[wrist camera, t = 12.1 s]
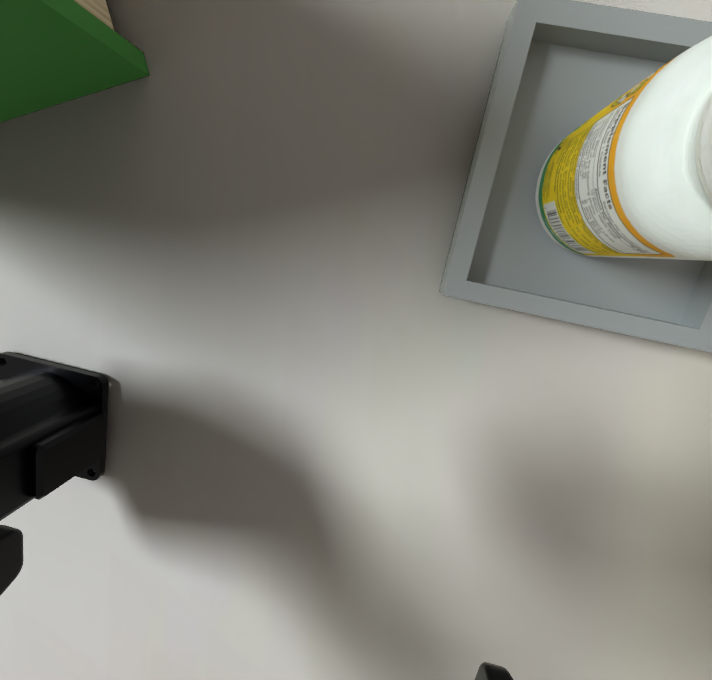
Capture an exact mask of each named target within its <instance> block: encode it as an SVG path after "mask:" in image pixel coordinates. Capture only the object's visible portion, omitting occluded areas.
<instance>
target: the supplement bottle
mask: <svg viewBox="0 0 712 680" xmlns="http://www.w3.org/2000/svg"><path fill="white" fill-rule="evenodd" d="M535 201H536V209H537V213H538V217H539V219H540V222H541V224H542V226H543V228H544V230H545V231H546V233H547V234H548V235H549V236H550V238H551V239H552V240H553V241H554V242H556V243H557V244H558V245H559V246H561V247H562V248H564V249H566V250H568V251H570V252H573V253H575V254H578V255H583V256H589V257H614V258H652V259H677V260H704V261H712V36H710V37H709V38H707V39H705V40H703V41H701V42H700V43H698V44H696V45H694V46H692V47H691V48H689V49H688V50H686V51H685V52H683V53H681V54H680V55H678V56H677V57H675V58H674V59H672V60H671V61H670V62H668V63H667V64H665V65H664V66H662V67H661V68H660V69H658V70H656V71H655V72H654V73H653V74H651V75H650V76H648V77H647V78H646V79H644V80H643V81H642V82H640V83H639V84H638V85H636V86H635V87H633V88H632V89H631V90H629V91H628V92H626V93H625V94H623V95H622V96H621V97H619V98H618V99H616V100H615V101H614V102H612V103H611V104H609V105H608V106H607V107H605V108H604V109H602V110H601V111H600V112H598V113H597V114H596V115H594V116H593V117H591V118H590V119H588V120H587V121H586V122H584V123H583V124H582V125H580V126H579V127H577V128H576V129H575V130H574V131H573V132H571V133H570V134H569V135H567V136H566V137H565V138H564V139H563V140H561V141H560V142H559V143H558V144H557V145H556V147H555V148H554V149H553V150H552V151H551V153H550V154H549V155H548V157H547V159H546V160H545V162H544V164H543V166H542V168H541V171H540V174H539V177H538V181H537V186H536V194H535Z"/></svg>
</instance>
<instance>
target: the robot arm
mask: <svg viewBox="0 0 712 680" xmlns="http://www.w3.org/2000/svg"><path fill="white" fill-rule="evenodd" d="M96 382H97V383H98V385H99V386H97V384H96ZM107 403H108V381H107V379H106V378H105V377H104V376H103V375H101V374H98V373H94V372H89V371H85V370H81V369H77V368H73V367H69V366H65V365H61V364H57V363H53V362H49V361H45V360H41V359H37V358H32V357H28V356H24V355H20V354H16V353H12V352H3V353H0V521H1V520H2V519H4V518H5V517H7V516H8V515H10V514H11V513H13V512H14V511H16V510H17V509H19V508H20V507H22V506H23V505H25V504H26V503H28V502H29V501H31V500H32V499H34V498H35V499H41V498H43V497H45V496H46V495H48V494H49V493H50V492H52V491H53V490H55V489H56V488H58V487H59V486H61V485H62V484H64V483H65V482H67V481H68V480H70V479H71V478H72V477H74V476H77V477H81V478H84V479H88V480H97V479H98V478H100V477H101V476H102V475H103V474H104V471H105V451H106V428H107ZM93 470H94V471H95V472H94V471H93ZM22 565H23V534H22V532H21V531H20V530H19V529H16V528H12V527H9V526H5V525H0V595H1V594H2V593H3V592H4V591H5V590H6V589H7V587H8V586H9V585H10V584H11V583H12V582H13V581H14V579H15V578H16V577H17V575H18V574H19V572H20V570H21V568H22ZM475 680H513V678H512V676H511V675H510V673H509V672H508V671H507V670H506V669H505V668H503V667H501V666H498V665H494V664H491V663H487V662H484V663H482V664H481V665H480V667H479V670H478V673H477V675H476V678H475Z"/></svg>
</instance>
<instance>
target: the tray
mask: <svg viewBox="0 0 712 680" xmlns="http://www.w3.org/2000/svg"><path fill="white" fill-rule="evenodd" d="M710 36H712V22H708V21H701V20H695V19H688V18H682V17H675V16H669V15H662V14H656V13H649V12H643V11H636V10H630V9H623V8H617V7H610V6H604V5H597V4H591V3H584V2H578V1H571V0H517V2H516V4H515V6H514V8H513V11H512V13H511V15H510V17H509V20H508V22H507V26H506V30H505V34H504V38H503V42H502V46H501V50H500V53H499V57H498V61H497V65H496V69H495V73H494V77H493V81H492V85H491V89H490V93H489V97H488V101H487V105H486V108H485V112H484V116H483V120H482V124H481V128H480V132H479V136H478V140H477V144H476V148H475V152H474V156H473V160H472V164H471V167H470V171H469V175H468V179H467V183H466V187H465V191H464V195H463V199H462V203H461V207H460V211H459V215H458V219H457V222H456V226H455V230H454V234H453V238H452V242H451V246H450V250H449V254H448V258H447V262H446V266H445V270H444V274H443V277H442V281H441V285H440V289H439V291H440V293H441V294H442V295H444V296H449V297H453V298H458V299H463V300H467V301H472V302H477V303H481V304H486V305H491V306H495V307H500V308H505V309H509V310H514V311H519V312H523V313H528V314H533V315H537V316H542V317H546V318H551V319H556V320H560V321H565V322H570V323H574V324H579V325H584V326H588V327H593V328H598V329H602V330H607V331H612V332H616V333H621V334H626V335H630V336H635V337H640V338H644V339H649V340H654V341H658V342H663V343H668V344H672V345H677V346H682V347H686V348H691V349H696V350H700V351H705V352H710V353H712V261H704V260H677V259H652V258H614V257H589V256H583V255H578V254H575V253H573V252H570V251H568V250H566V249H564V248H562V247H561V246H559V245H558V244H557V243H556V242H554V241H553V240H552V239H551V238H550V236H549V235H548V234H547V233H546V231H545V230H544V228H543V226H542V224H541V222H540V219H539V217H538V213H537V209H536V201H535V194H536V186H537V181H538V177H539V174H540V171H541V168H542V166H543V164H544V162H545V160H546V159H547V157H548V155H549V154H550V153H551V151H552V150H553V149H554V148H555V147H556V145H557V144H558V143H559V142H560V141H561V140H563V139H564V138H565V137H566V136H567V135H569V134H570V133H571V132H573V131H574V130H575V129H576V128H577V127H579V126H580V125H582V124H583V123H584V122H586V121H587V120H588V119H590V118H591V117H593V116H594V115H596V114H597V113H598V112H600V111H601V110H602V109H604V108H605V107H607V106H608V105H609V104H611V103H612V102H614V101H615V100H616V99H618V98H619V97H621V96H622V95H623V94H625V93H626V92H628V91H629V90H631V89H632V88H633V87H635V86H636V85H638V84H639V83H640V82H642V81H643V80H644V79H646V78H647V77H648V76H650V75H651V74H653V73H654V72H655V71H656V70H658V69H660V68H661V67H662V66H664V65H665V64H667V63H668V62H670V61H671V60H672V59H674V58H675V57H677V56H678V55H680V54H681V53H683V52H685V51H686V50H688V49H689V48H691V47H692V46H694V45H696V44H698V43H700V42H701V41H703V40H705V39H707V38H709V37H710Z"/></svg>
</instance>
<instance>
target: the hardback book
mask: <svg viewBox="0 0 712 680" xmlns="http://www.w3.org/2000/svg"><path fill="white" fill-rule="evenodd" d="M148 75H149V71H148V68H147V64H146V61H145V57H144V53H143V52H142V51H140V50H139V49H138V48H136V47H135V46H134V45H133V44H131V43H130V42H129V41H127V40H126V39H125V38H123V37H122V36H121V35H119V34H118V33H117V32H115V31H114V28H113V24H112V21H111V17H110V14H109V10H108V7H107V3H106V0H0V122H3V121H6V120H10V119H13V118H16V117H19V116H22V115H25V114H28V113H32V112H35V111H38V110H41V109H44V108H47V107H50V106H54V105H57V104H60V103H63V102H66V101H69V100H73V99H76V98H79V97H82V96H85V95H88V94H91V93H95V92H98V91H101V90H104V89H107V88H110V87H114V86H117V85H120V84H123V83H126V82H129V81H132V80H136V79H139V78H142V77H145V76H148Z"/></svg>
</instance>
